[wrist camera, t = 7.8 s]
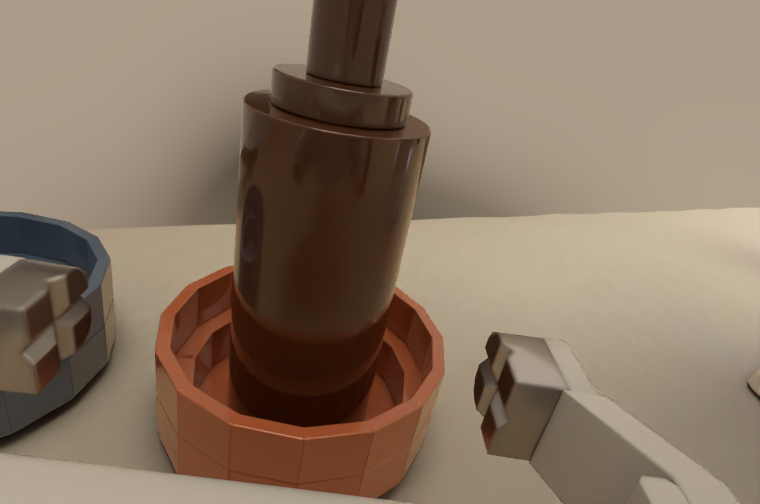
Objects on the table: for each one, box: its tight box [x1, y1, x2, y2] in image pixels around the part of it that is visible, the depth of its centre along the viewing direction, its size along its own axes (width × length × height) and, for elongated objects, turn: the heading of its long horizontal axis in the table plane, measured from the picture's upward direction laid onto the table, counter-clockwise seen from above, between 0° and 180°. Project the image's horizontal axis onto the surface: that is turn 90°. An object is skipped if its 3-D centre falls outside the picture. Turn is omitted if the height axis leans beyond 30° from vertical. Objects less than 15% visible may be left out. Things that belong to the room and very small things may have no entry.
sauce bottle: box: [227, 0, 431, 427], centre depth 17 cm, size 6×6×18 cm
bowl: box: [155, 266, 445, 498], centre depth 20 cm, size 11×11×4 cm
